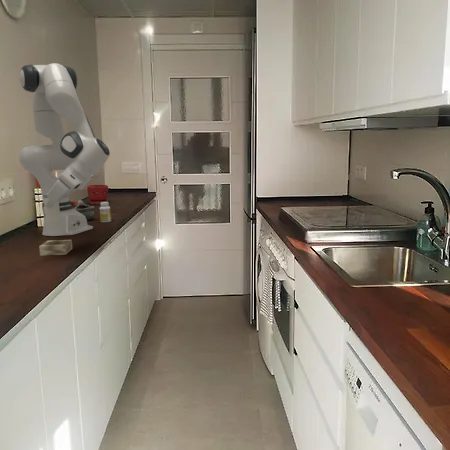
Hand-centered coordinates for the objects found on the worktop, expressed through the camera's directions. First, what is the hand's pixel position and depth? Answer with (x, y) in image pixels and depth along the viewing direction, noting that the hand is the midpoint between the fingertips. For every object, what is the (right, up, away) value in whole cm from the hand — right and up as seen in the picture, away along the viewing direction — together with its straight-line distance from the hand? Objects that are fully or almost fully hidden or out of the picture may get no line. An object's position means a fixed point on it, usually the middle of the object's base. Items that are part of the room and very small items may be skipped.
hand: (50, 205), depth 164 cm
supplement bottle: (+3, -5, +64) cm, 65 cm away
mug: (-10, -5, +70) cm, 71 cm away
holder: (+1, -17, +3) cm, 17 cm away
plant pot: (-19, +7, +131) cm, 132 cm away
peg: (+1, -6, +1) cm, 6 cm away
